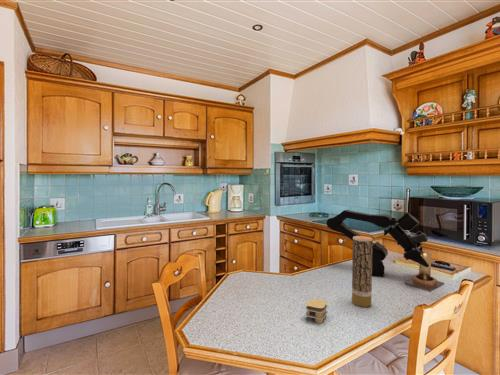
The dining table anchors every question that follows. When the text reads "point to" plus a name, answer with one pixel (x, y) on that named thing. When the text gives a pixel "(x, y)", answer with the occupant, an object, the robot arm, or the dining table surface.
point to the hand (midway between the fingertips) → (428, 265)
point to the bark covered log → (362, 271)
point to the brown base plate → (424, 283)
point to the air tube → (425, 271)
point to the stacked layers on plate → (317, 309)
